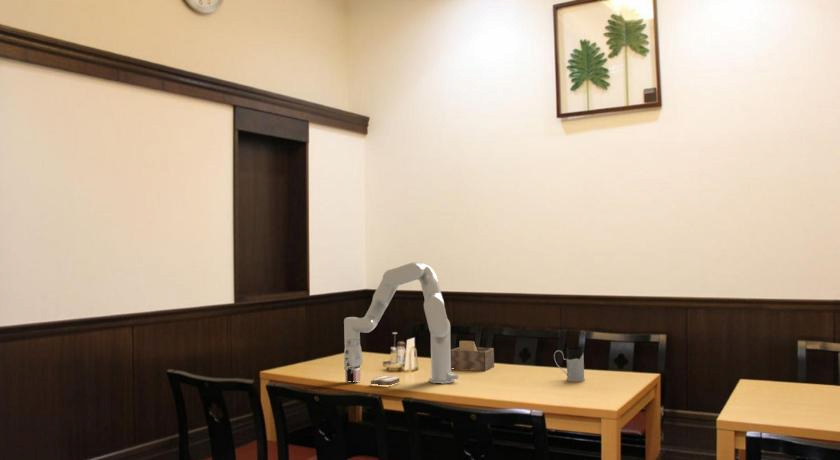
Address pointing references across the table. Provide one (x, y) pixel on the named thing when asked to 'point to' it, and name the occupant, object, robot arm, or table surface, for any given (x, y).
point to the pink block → (355, 374)
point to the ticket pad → (385, 380)
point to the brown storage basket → (473, 359)
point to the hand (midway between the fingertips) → (353, 380)
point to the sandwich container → (467, 347)
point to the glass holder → (574, 364)
